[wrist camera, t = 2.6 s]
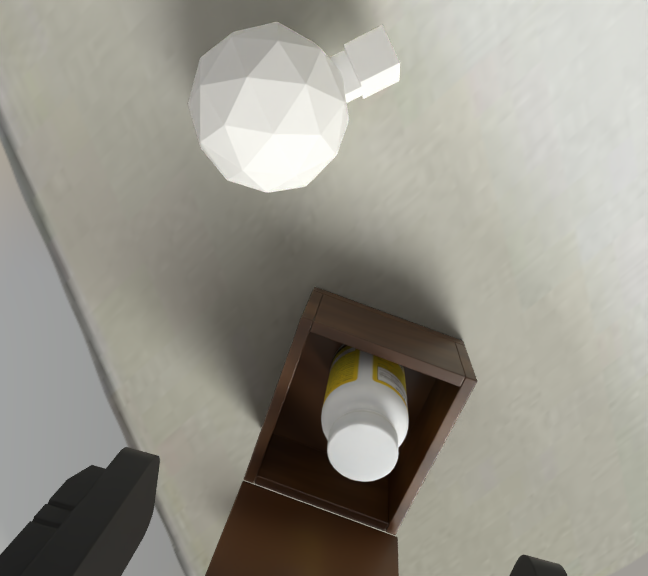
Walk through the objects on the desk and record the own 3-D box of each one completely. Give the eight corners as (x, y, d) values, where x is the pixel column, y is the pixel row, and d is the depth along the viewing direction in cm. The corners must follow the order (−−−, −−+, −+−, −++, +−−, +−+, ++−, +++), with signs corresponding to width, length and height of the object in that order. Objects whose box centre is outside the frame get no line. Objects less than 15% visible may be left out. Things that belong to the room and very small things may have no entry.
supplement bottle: (330, 395, 37) (312, 486, 28) (333, 331, 35) (314, 406, 26) (401, 402, 36) (406, 497, 27) (407, 337, 35) (415, 415, 25)
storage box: (314, 286, 35) (301, 316, 30) (463, 340, 35) (477, 381, 30) (262, 430, 40) (243, 480, 34) (394, 479, 40) (395, 535, 34)
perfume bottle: (252, 226, 32) (419, 147, 31) (198, 201, 23) (431, 86, 22) (202, 110, 33) (363, 27, 31) (129, 41, 24) (352, -81, 22)
